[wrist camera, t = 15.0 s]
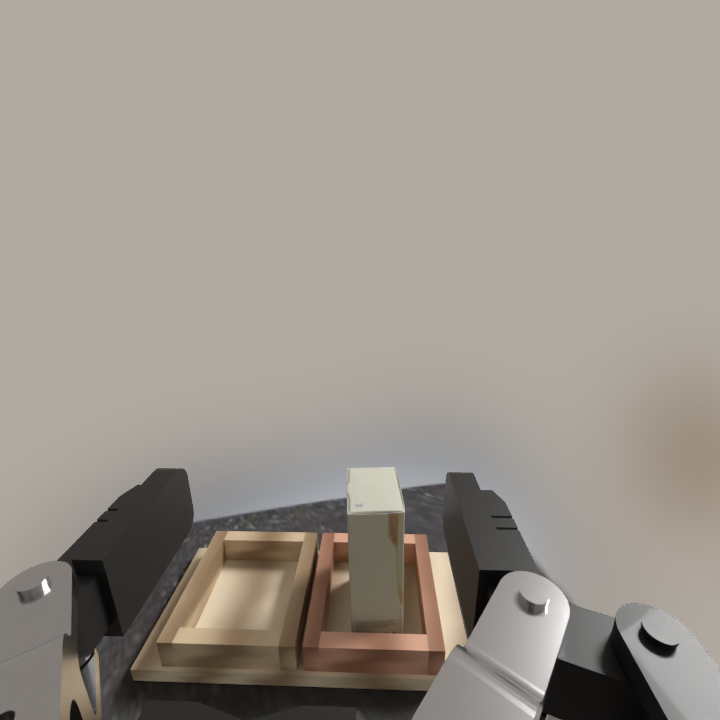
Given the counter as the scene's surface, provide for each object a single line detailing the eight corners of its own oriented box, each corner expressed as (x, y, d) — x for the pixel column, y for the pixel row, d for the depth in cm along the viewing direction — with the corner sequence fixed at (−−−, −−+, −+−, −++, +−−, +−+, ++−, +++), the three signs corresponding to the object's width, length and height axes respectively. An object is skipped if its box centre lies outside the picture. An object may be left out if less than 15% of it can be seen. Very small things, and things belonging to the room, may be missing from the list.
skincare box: (404, 640, 31) (407, 514, 27) (350, 643, 31) (346, 516, 27) (394, 573, 37) (396, 463, 33) (349, 575, 37) (346, 465, 33)
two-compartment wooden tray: (133, 680, 30) (123, 645, 28) (201, 557, 41) (196, 528, 40) (474, 692, 28) (478, 656, 27) (446, 561, 40) (448, 532, 39)
